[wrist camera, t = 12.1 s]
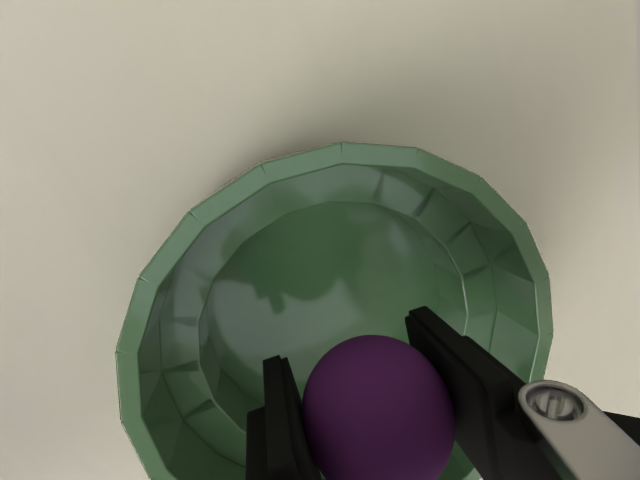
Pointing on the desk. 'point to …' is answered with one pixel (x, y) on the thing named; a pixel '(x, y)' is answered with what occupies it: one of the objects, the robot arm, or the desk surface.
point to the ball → (377, 412)
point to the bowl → (317, 292)
